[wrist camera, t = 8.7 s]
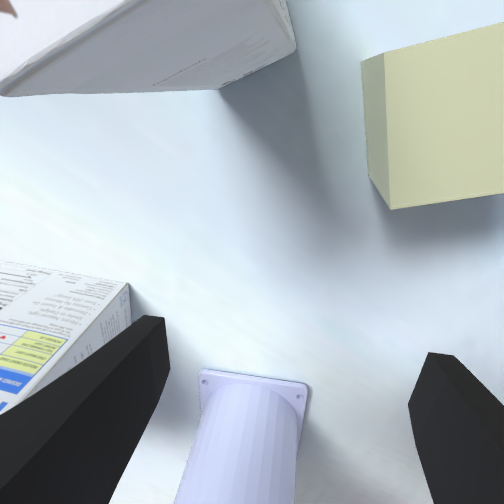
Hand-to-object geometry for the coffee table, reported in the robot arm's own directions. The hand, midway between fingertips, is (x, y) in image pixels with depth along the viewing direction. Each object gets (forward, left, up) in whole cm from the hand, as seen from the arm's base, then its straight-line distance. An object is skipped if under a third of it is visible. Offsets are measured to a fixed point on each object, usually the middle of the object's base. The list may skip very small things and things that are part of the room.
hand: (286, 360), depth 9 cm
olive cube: (+6, -5, -10) cm, 13 cm away
